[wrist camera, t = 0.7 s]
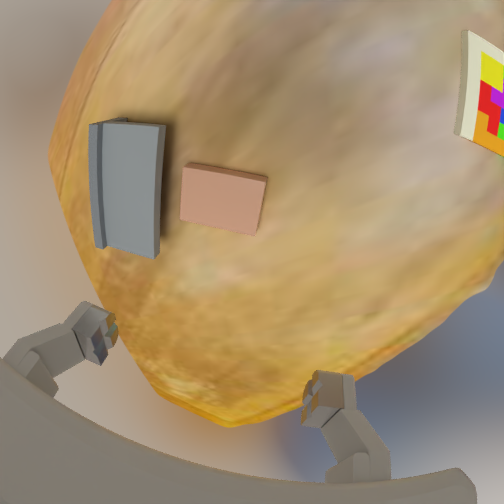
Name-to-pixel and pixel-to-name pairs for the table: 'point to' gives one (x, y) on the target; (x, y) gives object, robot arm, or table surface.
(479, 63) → the puzzle game
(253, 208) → the tile
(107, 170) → the grey block
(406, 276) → the table surface
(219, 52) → the table surface
